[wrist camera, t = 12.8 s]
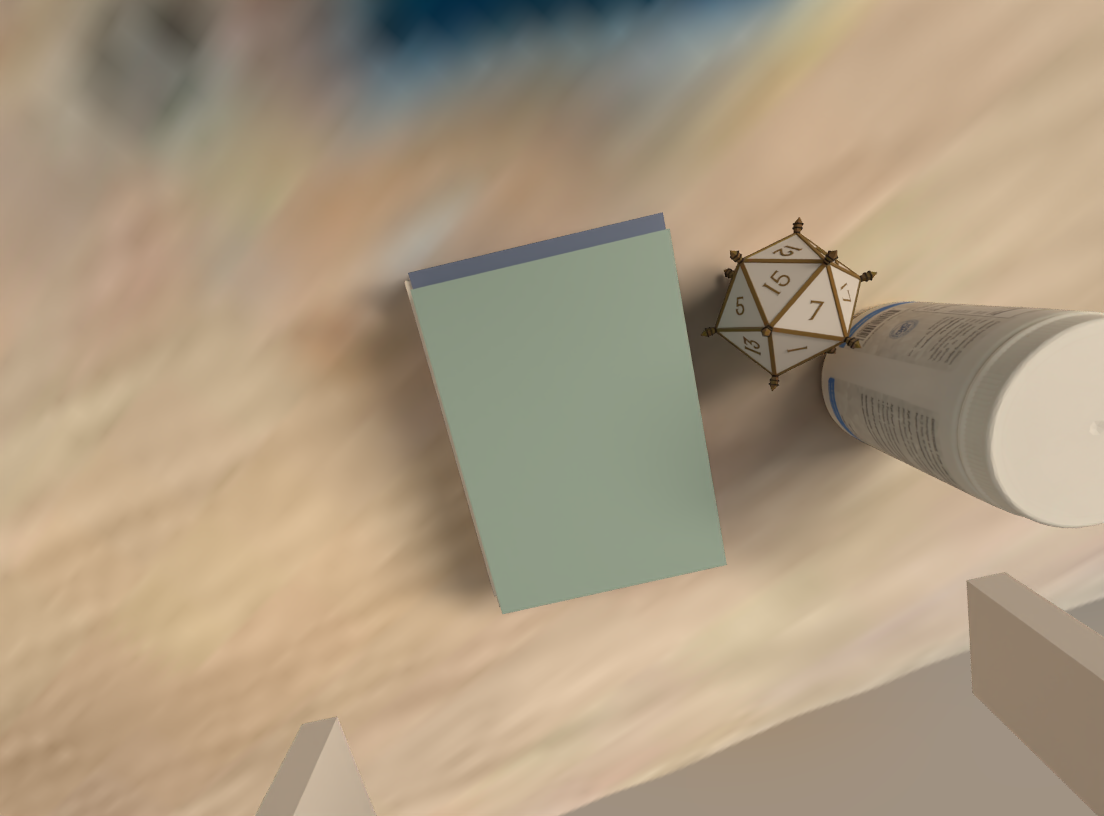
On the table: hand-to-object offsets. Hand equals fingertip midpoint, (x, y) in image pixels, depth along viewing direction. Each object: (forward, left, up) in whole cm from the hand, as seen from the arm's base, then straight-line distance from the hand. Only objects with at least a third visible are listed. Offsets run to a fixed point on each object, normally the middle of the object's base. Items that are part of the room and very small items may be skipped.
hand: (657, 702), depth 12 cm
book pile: (0, 0, -27) cm, 27 cm away
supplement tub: (+3, +21, -27) cm, 34 cm away
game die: (-1, +15, -19) cm, 24 cm away
